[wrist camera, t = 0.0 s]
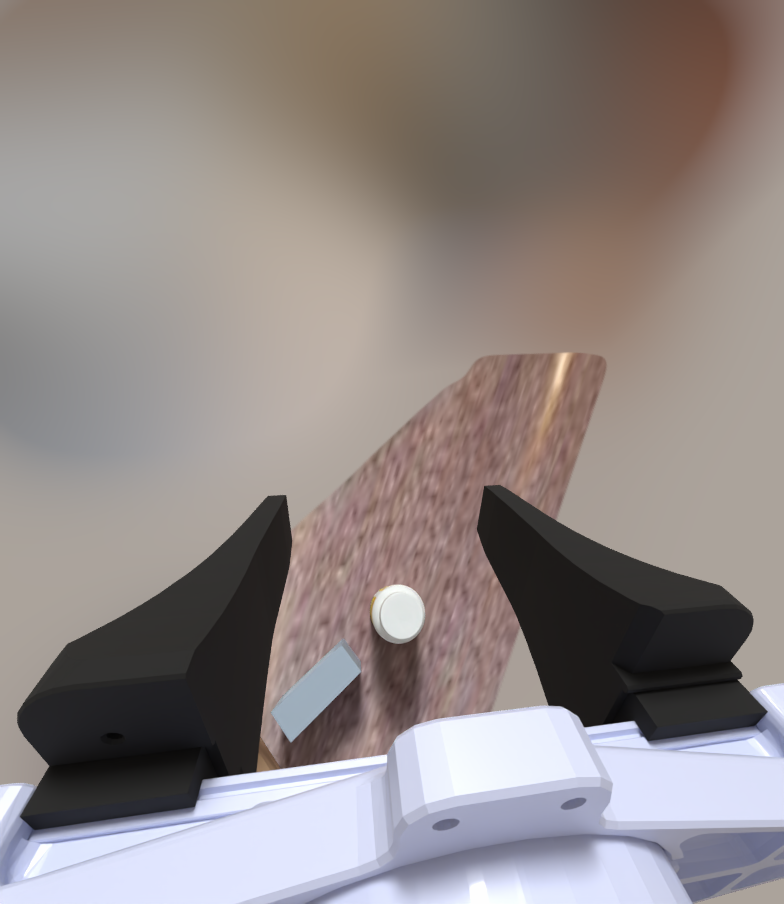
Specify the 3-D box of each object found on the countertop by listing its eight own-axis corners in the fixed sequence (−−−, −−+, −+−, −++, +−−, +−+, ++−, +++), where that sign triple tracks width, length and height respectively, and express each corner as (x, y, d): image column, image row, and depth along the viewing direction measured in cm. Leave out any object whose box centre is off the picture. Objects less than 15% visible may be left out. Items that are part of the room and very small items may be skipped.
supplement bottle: (391, 576, 43) (401, 571, 34) (424, 609, 42) (443, 613, 33) (359, 611, 41) (360, 616, 32) (392, 647, 40) (403, 662, 31)
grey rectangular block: (343, 637, 40) (341, 644, 34) (360, 661, 39) (361, 672, 34) (283, 694, 37) (270, 712, 32) (300, 720, 37) (291, 743, 31)
